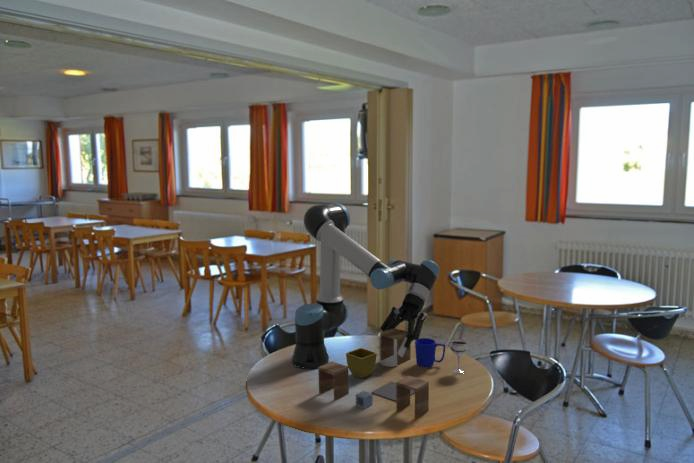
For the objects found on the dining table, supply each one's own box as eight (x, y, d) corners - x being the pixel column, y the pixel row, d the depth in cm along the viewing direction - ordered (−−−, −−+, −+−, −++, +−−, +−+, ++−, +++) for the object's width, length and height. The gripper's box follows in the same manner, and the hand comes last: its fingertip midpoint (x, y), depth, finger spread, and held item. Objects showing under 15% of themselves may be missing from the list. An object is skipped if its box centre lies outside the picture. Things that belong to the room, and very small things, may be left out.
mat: (371, 392, 192) (371, 391, 192) (391, 382, 201) (391, 381, 201) (398, 402, 184) (398, 401, 184) (418, 391, 193) (418, 390, 193)
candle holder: (407, 364, 218) (407, 335, 217) (388, 369, 213) (388, 340, 211) (391, 356, 226) (391, 329, 225) (373, 362, 221) (373, 333, 219)
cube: (355, 405, 182) (355, 394, 182) (363, 401, 185) (363, 390, 185) (364, 409, 180) (364, 398, 179) (372, 405, 183) (372, 393, 182)
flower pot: (361, 369, 214) (361, 347, 213) (377, 375, 208) (377, 352, 207) (345, 375, 208) (345, 353, 207) (361, 381, 202) (361, 358, 200)
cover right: (396, 411, 178) (396, 382, 177) (408, 403, 183) (408, 375, 182) (416, 418, 173) (416, 388, 171) (428, 410, 178) (428, 381, 176)
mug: (444, 370, 211) (445, 345, 210) (414, 368, 214) (414, 344, 212) (445, 362, 219) (445, 339, 218) (415, 360, 222) (415, 337, 220)
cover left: (318, 393, 192) (318, 367, 190) (332, 387, 197) (331, 361, 196) (335, 400, 186) (334, 372, 185) (348, 393, 192) (348, 366, 190)
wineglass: (471, 373, 208) (471, 343, 206) (455, 375, 206) (456, 345, 204) (461, 367, 214) (462, 338, 213) (446, 369, 212) (447, 340, 210)
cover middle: (380, 359, 191) (380, 332, 189) (392, 354, 196) (392, 327, 194) (398, 365, 185) (398, 337, 184) (410, 359, 191) (410, 332, 189)
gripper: (444, 308, 193) (419, 364, 183) (397, 299, 207) (371, 351, 197) (436, 297, 188) (410, 353, 178) (388, 288, 202) (361, 340, 192)
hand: (389, 352), depth 188 cm, fingers closed on cover middle, 8 cm apart
